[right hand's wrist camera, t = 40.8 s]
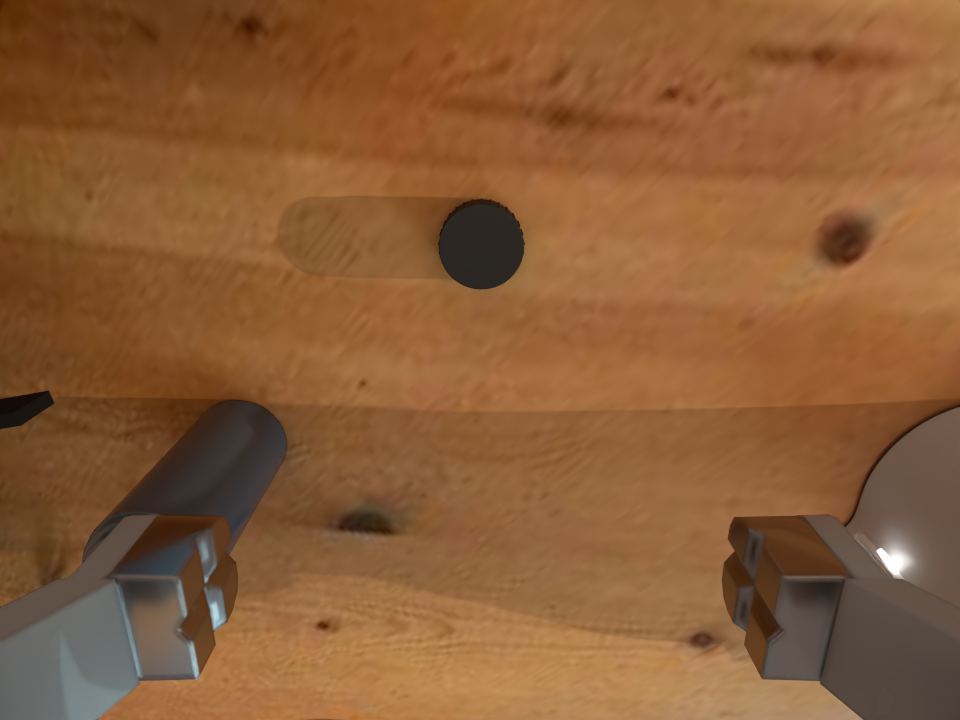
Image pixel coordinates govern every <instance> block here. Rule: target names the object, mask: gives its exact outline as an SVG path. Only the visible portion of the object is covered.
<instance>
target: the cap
mask: <svg viewBox="0 0 960 720" xmlns="http://www.w3.org/2000/svg"><path fill="white" fill-rule="evenodd" d="M438 245H439V254H440V258H441V262H442V264H443V266H444V268H445V269H446V271H447V272H448V274H449V275H450V276H451V277H452V278H453V279H454V280H456V281H457V282H459V283H460V284H462V285H464V286H467V287H469V288H474V289H489V288H493V287H497V286H499V285H501V284H503V283H504V282H506V281H507V280H509V279H510V278H511V277H512V276H513V275H514V274H515V272H516V271H517V269H518V268H519V266H520V264H521V261H522V258H523V254H524V245H525V243H524V240H523V232H522V229H520V224H519V221H517V220H516V218H515V216H514V214H513V213H511V212H510V211H509V210H508V208H507V207H504V206H503V205H501V204H500V203H499V202H498V203H497V202H494V201H491V199H490V200H484V199H482V198H481V199H479V200H473V199H472V201H469V202H466V203H465V202H464V203H463V204H462V205H460V206H459V207H456V208H455V210H454V211H453V212H452V213H450V214H449V216H448V218H447V220H446V221H444V224H443V229H441V232H440V240H439V243H438Z"/></svg>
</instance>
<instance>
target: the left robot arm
mask: <svg viewBox="0 0 960 720" xmlns="http://www.w3.org/2000/svg"><path fill="white" fill-rule="evenodd" d="M53 404H54V402H53V399H52V397H51V395H50V393H49V391H44V392H39V393H33V394H27V395H22V396H16V397H10V398H4V399H0V429H3V428H9V427H15V426H21V425H22V424H24V423H25V422H27V421H28V420H30V419H31V418H33V417H35V416H36V415H38V414H39V413H41V412H42V411H44V410H45V409H47V408H48V407H50V406H51V405H53Z"/></svg>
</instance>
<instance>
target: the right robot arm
mask: <svg viewBox="0 0 960 720" xmlns="http://www.w3.org/2000/svg"><path fill="white" fill-rule="evenodd" d="M231 540H232V535H231V530H230V525H229V521H228V520H227V519H226V518H225V517H224V516H195V515H162V516H161V515H130V516H127V517H124V518H123V519H122V520H121V521H120V522H119V524H118V525H117V526H116V527H115V528H114V529H113V530H112V531H111V532H110V534H109V535H108V536H107V537H106V538H105V539H104V540H103V541H102V542H101V543H100V545H99V546H98V547H97V548H96V549H95V550H94V551H93V552H92V553H91V555H90V556H89V557H88V558H87V559H86V560H85V561H84V562H83V563H82V564H81V566H80V567H79V568H78V569H77V570H76V571H75V572H74V573H73V574H72V576H71V577H70V578H69V579H57V580H55V581H53V582H51V583H49V584H47V585H45V586H43V587H41V588H39V589H37V590H35V591H32V592H30V593H28V594H26V595H24V596H22V597H20V598H18V599H16V600H14V601H12V602H10V603H8V604H6V605H4V606H2V607H0V720H97V719H98V718H99V717H101V716H102V715H103V714H104V713H105V712H107V711H108V710H109V709H110V708H111V707H113V706H114V705H115V704H116V703H117V702H119V701H120V700H121V699H122V698H123V697H125V696H126V695H127V694H128V693H129V692H131V691H132V690H133V689H134V688H135V687H137V686H138V685H139V684H140V682H139V681H152V680H186V679H198V678H199V676H200V674H201V672H202V670H203V668H204V666H205V665H206V663H207V661H208V659H209V657H210V655H211V653H212V651H213V649H214V647H215V645H216V643H215V637H214V631H216V630H217V629H218V628H220V627H221V626H223V625H224V624H225V623H227V621H228V619H229V617H230V615H231V613H232V610H233V608H234V604H235V599H236V595H237V590H238V574H237V567H236V562H235V561H234V560H233V559H232V558H231V557H230V556H229V555H228V554H227V553H226V552H225V551H226V549H227V547H228V545H229V544H230V542H231ZM728 540H729V542H730V544H731V545H732V547H733V549H734V551H735V552H734V553H733V554H732V555H731V556H730V557H729V558H728V559H727V560H726V561H725V562H724V567H723V576H722V586H723V596H724V601H725V604H726V607H727V611H728V613H729V615H730V617H731V619H732V621H733V623H735V624H736V625H737V626H739V627H740V628H742V629H743V630H744V631H746V637H745V643H744V645H745V647H746V649H747V651H748V653H749V655H750V657H751V659H752V661H753V663H754V664H755V666H756V668H757V670H758V672H759V674H760V676H761V678H762V679H772V680H808V681H821V682H820V684H821V685H822V686H824V687H825V688H826V689H827V690H828V691H830V692H831V693H832V694H833V695H834V696H836V697H837V698H838V699H839V700H840V701H842V702H843V703H844V704H845V705H846V706H848V707H849V708H850V709H851V710H852V711H854V712H855V713H856V714H857V715H858V716H860V717H861V718H862V719H863V720H960V407H957V408H954V409H952V410H949V411H946V412H944V413H942V414H939V415H937V416H935V417H933V418H931V419H929V420H928V421H926V422H924V423H922V424H921V425H919V426H918V427H916V428H915V429H913V430H912V431H910V432H909V433H908V434H906V435H905V436H904V437H903V438H901V439H900V440H899V441H898V442H897V443H896V444H895V445H894V446H893V447H892V448H891V449H890V450H889V451H888V452H887V453H886V454H885V455H884V456H883V458H882V459H881V460H880V461H879V463H878V464H877V465H876V467H875V469H874V470H873V472H872V473H871V475H870V477H869V479H868V481H867V483H866V485H865V487H864V490H863V492H862V495H861V498H860V501H859V505H858V508H857V510H856V513H855V515H854V517H853V519H852V520H851V522H850V523H849V524H848V525H847V526H846V527H844V526H843V525H842V524H841V522H840V521H839V520H838V519H837V518H835V517H833V516H831V515H829V514H821V515H797V516H762V517H734V519H733V521H732V523H731V525H730V529H729V535H728Z"/></svg>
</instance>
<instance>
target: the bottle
mask: <svg viewBox="0 0 960 720" xmlns="http://www.w3.org/2000/svg"><path fill="white" fill-rule="evenodd" d="M286 452H287V439H286V435H285V432H284V430H283V428H282V426H281V424H280V423H279V421H278V420H277V419H276V418H275V417H274V416H273V415H272V414H271V413H270V412H269V411H267V410H266V409H264V408H263V407H261V406H259V405H257V404H254V403H251V402H247V401H242V400H230V401H224V402H221V403H218V404H216V405H214V406H212V407H211V408H209V409H208V410H207V411H206V412H205V413H204V414H203V415H202V416H201V417H200V418H199V419H198V420H197V421H196V422H195V423H194V424H193V426H192V427H191V428H190V429H189V430H188V431H187V432H186V433H185V434H184V435H183V436H182V437H181V438H180V439H179V440H178V441H177V443H176V444H175V445H174V446H173V447H172V448H171V449H170V450H169V451H168V452H167V453H166V454H165V455H164V456H163V457H162V458H161V460H160V461H159V462H158V463H157V464H156V465H155V466H154V467H153V468H152V469H151V470H150V471H149V472H148V473H147V474H146V475H145V477H144V478H143V479H142V480H141V481H140V482H139V483H138V484H137V485H136V486H135V487H134V488H133V489H132V490H131V491H130V492H129V494H128V495H127V496H126V497H125V498H124V499H123V500H122V501H121V502H120V503H119V504H118V505H117V506H116V507H115V508H114V509H113V511H112V512H111V513H110V514H109V515H108V516H107V517H106V518H105V519H104V520H103V521H102V522H101V523H100V524H99V525H98V526H97V528H96V529H95V530H94V531H93V533H92V534H91V536H90V538H89V540H88V543H87V545H86V547H85V549H84V553H83V560H82V563H83V562H84V561H85V560H86V559H87V558H88V557H89V556H90V555H91V553H92V552H93V551H94V550H95V549H96V548H97V547H98V546H99V545H100V543H101V542H102V541H103V540H104V539H105V538H106V537H107V536H108V535H109V534H110V532H111V531H112V530H113V529H114V528H115V527H116V526H117V525H118V524H119V522H120V521H121V520H122V519H123V518H124V517H127V516H130V515H161V516H162V515H195V516H224V517H225V518H226V519H227V520H228V521H229V525H230V530H231V535H232V540H231V542H230V544H229V545H228V547H227V549H226V551H225V552H226V553H227V554H228V555H230V553H231V551H232V549H233V548H234V546H235V544H236V542H237V541H238V539H239V537H240V536H241V534H242V532H243V530H244V529H245V527H246V525H247V523H248V522H249V520H250V518H251V516H252V515H253V513H254V511H255V510H256V508H257V506H258V504H259V503H260V501H261V499H262V497H263V496H264V494H265V492H266V491H267V489H268V487H269V485H270V484H271V482H272V480H273V478H274V477H275V475H276V473H277V471H278V470H279V468H280V466H281V465H282V463H283V461H284V459H285V456H286Z"/></svg>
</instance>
